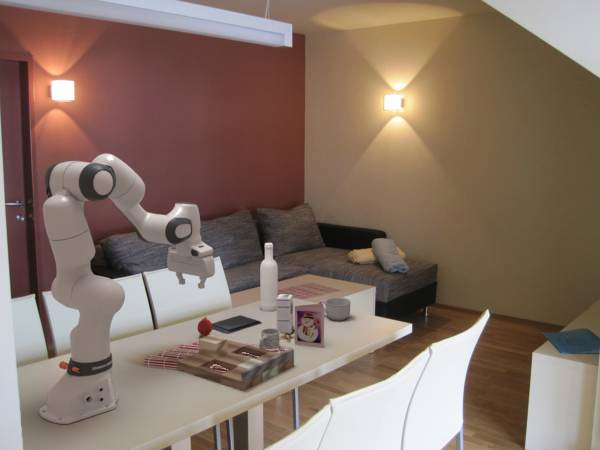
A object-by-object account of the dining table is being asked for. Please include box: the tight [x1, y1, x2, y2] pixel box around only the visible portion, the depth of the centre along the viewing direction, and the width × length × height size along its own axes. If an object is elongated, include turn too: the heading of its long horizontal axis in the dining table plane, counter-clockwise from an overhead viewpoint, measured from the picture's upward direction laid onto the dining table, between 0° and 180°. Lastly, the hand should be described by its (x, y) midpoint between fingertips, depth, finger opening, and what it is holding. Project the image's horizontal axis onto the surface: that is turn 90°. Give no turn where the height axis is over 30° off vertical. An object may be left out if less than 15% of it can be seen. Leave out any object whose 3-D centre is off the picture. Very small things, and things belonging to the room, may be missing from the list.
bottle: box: [259, 242, 279, 312], centre depth 282 cm, size 8×8×30 cm
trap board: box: [176, 339, 295, 392], centre depth 216 cm, size 26×30×6 cm
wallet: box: [211, 314, 263, 335], centre depth 262 cm, size 20×2×15 cm
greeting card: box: [294, 302, 325, 348], centre depth 239 cm, size 11×7×15 cm, turn 73°
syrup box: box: [276, 293, 294, 334], centre depth 253 cm, size 6×6×14 cm
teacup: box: [318, 296, 352, 322], centre depth 271 cm, size 14×11×8 cm
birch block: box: [198, 334, 228, 358], centre depth 221 cm, size 6×8×5 cm
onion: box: [197, 316, 213, 337], centre depth 247 cm, size 6×6×8 cm
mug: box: [259, 328, 280, 350], centre depth 233 cm, size 10×7×7 cm, turn 149°
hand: (191, 286), depth 222 cm, fingers open, 8 cm apart
